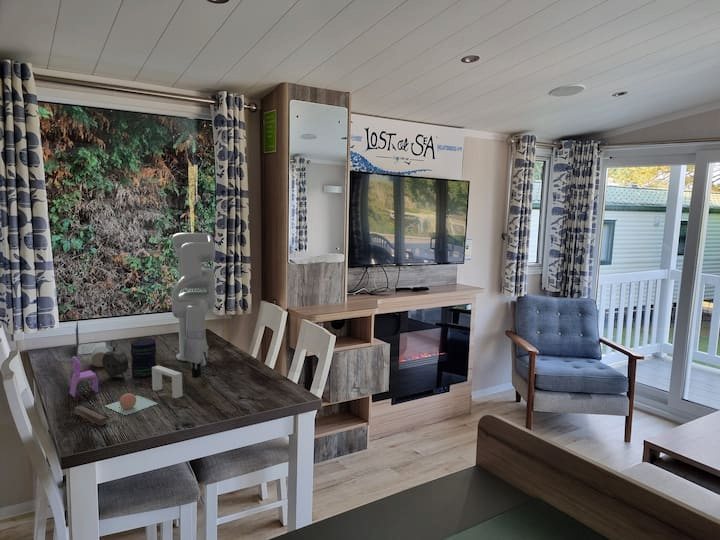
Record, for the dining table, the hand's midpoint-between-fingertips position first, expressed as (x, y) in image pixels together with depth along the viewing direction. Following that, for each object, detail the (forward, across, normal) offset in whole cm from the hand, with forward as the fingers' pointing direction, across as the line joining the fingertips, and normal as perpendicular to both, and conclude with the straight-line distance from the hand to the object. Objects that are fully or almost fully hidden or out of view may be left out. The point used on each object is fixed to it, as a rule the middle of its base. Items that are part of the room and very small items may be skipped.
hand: (196, 376), depth 209 cm
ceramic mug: (+4, -50, -11) cm, 51 cm away
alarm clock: (+3, -30, -17) cm, 35 cm away
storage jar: (+3, -23, -8) cm, 25 cm away
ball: (-1, +2, -32) cm, 32 cm away
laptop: (+4, -78, -2) cm, 78 cm away
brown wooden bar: (+2, +1, -44) cm, 44 cm away
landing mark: (+2, +1, -29) cm, 29 cm away
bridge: (+2, +1, -14) cm, 15 cm away
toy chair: (+3, -24, -33) cm, 41 cm away
